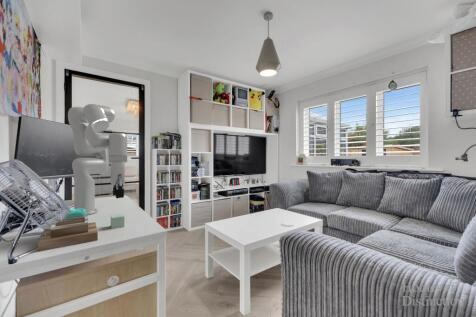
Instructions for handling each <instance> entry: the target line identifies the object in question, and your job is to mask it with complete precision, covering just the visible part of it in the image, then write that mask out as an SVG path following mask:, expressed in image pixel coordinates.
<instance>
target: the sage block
mask: <svg viewBox="0 0 476 317" xmlns="http://www.w3.org/2000/svg"><path fill="white" fill-rule="evenodd" d="M124 227H125V215H124V214H123V213H120V214H113V215H110V228H111V230H115V229H121V228H124Z"/></svg>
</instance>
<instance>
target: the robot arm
mask: <svg viewBox="0 0 476 317" xmlns="http://www.w3.org/2000/svg"><path fill="white" fill-rule="evenodd" d="M115 117H116V113H115V111H114V109H113V108H111V107H110V106H106V105H100V104H95V103H90V104H86V105H85V106H84V107H83V106H73V107H70V108H69V109H68V112H67V119H68V124H69V126H70V128H71V130H72V138H73V140H72V141H73V148H74V152H75V154H76V155H77V156H82V157H77V158H75V159H73V161H72V163H71V167H72V172H73V209H85V210H86V216H88V215H89V216H90V215H93V214H97V213H98V212H99V210H98V209H97V208H95V201H96V200H95V196H96V195H95V194H96V192H95V191H96V190H95V189H96V188H95V187H96V184H95V183H96V182H95V180H94V178H93V177H92V176H91V175H97V174H98V175H99V174H106V173H107V172H108V170H109V167H110V184H111V185H112V196H115V198H116V199H121V198H122V199H123V198H124V197H125V187H124V184H125V183H126V182H125V181H126V178H125V177H126V168H125V167H126V166H125V165H126V163H128V135H127V134H126V133H123V132H112V133H104V131H106V130H108V129H109V127H110V123H112V122H113V121H114V120H115ZM85 123H86V124H88V125H86V124H85ZM84 156H85V157H84ZM86 156H87V157H86ZM91 156H92V157H91ZM109 165H110V166H109Z"/></svg>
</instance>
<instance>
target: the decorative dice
mask: <svg viewBox="0 0 476 317" xmlns="http://www.w3.org/2000/svg"><path fill="white" fill-rule="evenodd" d="M69 210H70V213H69V214H68V215H67V216H66V217H65V219H67V218H75V217H83V216H87V215H86V210H85V209H74V208H71V209H69Z"/></svg>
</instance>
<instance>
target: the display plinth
mask: <svg viewBox="0 0 476 317" xmlns="http://www.w3.org/2000/svg"><path fill="white" fill-rule="evenodd" d="M62 219H63V218H62ZM45 234H46V235H45ZM98 237H99V236H98V228H97V224H96V221H93V222H92V221H91V222H89V219H88V215H86V216H83V217H75V218H67V219H63V220H62V221H61V222H58V223H57V221H55V222H53V221H52V223H51V226H50V228H44V230H43V231H42V234H41V236H40V238H39V240H38V243H37V251H38V252H42V251H45V250H53V249H56V248H57V249H58V248H62V247H67V246H72V245H73V246H74V245H78V244H84V243H88V242H89V243H90V242H95V241H98V239H99V238H98Z"/></svg>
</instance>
